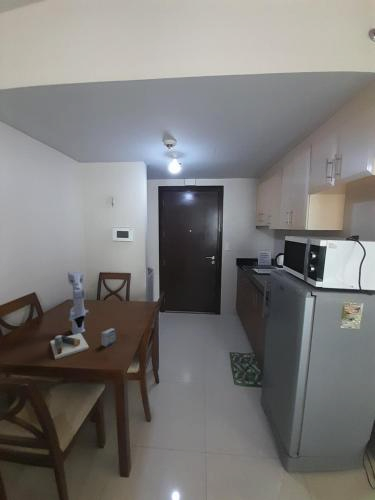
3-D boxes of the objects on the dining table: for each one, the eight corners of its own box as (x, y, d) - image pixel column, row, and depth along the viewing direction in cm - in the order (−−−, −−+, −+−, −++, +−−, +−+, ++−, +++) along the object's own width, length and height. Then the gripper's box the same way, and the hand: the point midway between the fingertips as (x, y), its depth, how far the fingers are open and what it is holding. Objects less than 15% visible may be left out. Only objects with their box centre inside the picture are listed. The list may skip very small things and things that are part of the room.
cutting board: (50, 343, 140) (50, 340, 140) (80, 335, 151) (80, 332, 151) (55, 359, 123) (55, 356, 123) (88, 348, 134) (88, 346, 134)
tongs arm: (54, 343, 137) (53, 337, 136) (59, 339, 141) (59, 334, 141) (74, 347, 132) (74, 341, 132) (80, 343, 136) (80, 338, 136)
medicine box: (106, 347, 136) (105, 334, 135) (101, 345, 138) (101, 332, 137) (115, 341, 143) (115, 329, 142) (111, 339, 145) (110, 327, 144)
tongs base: (53, 342, 138) (53, 337, 138) (62, 340, 141) (61, 335, 141) (57, 354, 125) (57, 349, 125) (66, 351, 128) (66, 346, 128)
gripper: (75, 312, 133) (76, 333, 135) (91, 304, 147) (92, 323, 148) (66, 310, 135) (67, 331, 137) (83, 303, 149) (84, 322, 150)
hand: (79, 327), depth 143 cm, fingers closed
